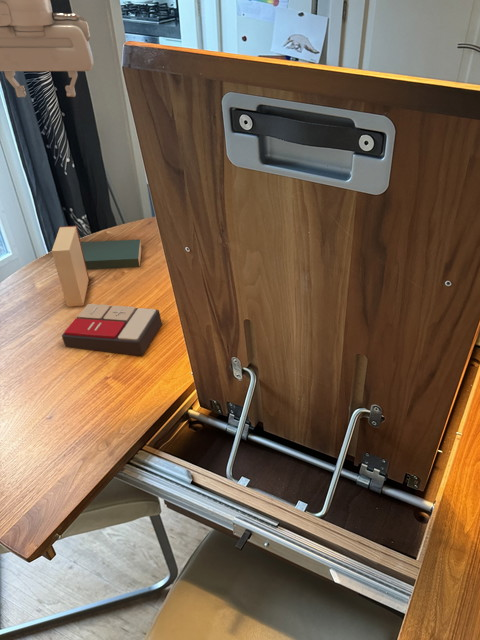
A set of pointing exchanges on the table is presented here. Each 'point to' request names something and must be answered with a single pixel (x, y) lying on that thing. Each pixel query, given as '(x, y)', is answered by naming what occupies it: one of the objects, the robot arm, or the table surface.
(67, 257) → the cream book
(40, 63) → the robot arm
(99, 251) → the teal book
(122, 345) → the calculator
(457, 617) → the table surface
